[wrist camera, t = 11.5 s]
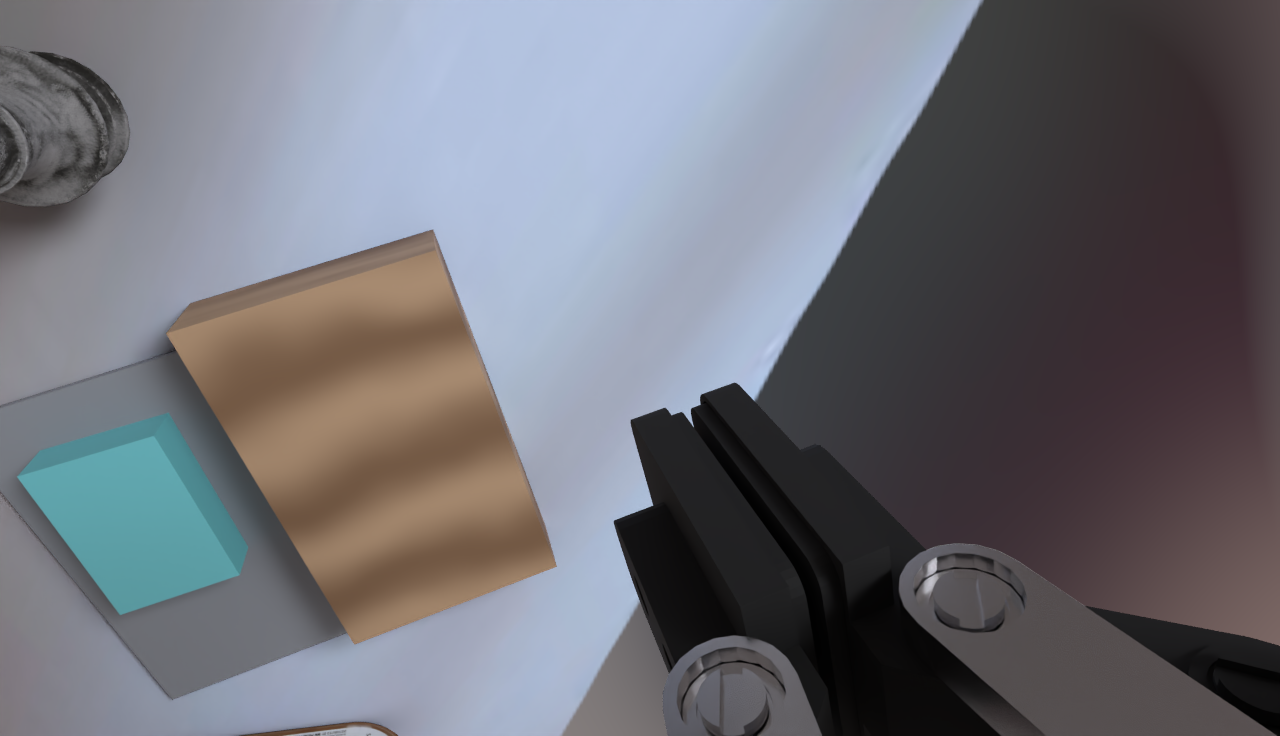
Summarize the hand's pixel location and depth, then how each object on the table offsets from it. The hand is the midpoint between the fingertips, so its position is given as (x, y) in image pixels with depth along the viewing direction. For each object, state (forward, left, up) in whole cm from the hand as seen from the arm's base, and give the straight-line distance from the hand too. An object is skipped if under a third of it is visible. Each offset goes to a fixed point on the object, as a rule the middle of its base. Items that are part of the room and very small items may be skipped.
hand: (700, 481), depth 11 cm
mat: (+14, -22, -29) cm, 39 cm away
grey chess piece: (-7, -17, -29) cm, 35 cm away
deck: (+12, -10, -29) cm, 33 cm away
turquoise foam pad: (+11, -22, -26) cm, 36 cm away
